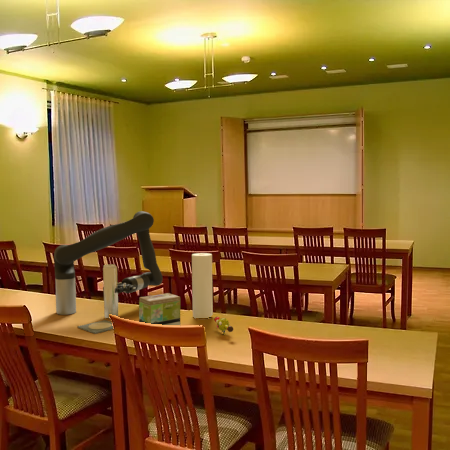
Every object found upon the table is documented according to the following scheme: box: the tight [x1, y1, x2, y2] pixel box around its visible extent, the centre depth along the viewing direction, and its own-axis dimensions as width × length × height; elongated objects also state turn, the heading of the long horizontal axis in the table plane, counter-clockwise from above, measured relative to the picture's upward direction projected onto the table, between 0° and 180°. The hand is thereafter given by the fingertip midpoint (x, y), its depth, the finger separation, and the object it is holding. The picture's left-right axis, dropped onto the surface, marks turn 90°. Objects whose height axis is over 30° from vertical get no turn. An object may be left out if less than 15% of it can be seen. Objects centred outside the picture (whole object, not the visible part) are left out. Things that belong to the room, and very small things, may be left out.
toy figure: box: [213, 316, 234, 335], centre depth 211 cm, size 18×6×7 cm, turn 21°
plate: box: [77, 319, 114, 335], centre depth 223 cm, size 14×14×1 cm
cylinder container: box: [191, 252, 214, 319], centre depth 239 cm, size 9×9×30 cm
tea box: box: [138, 292, 181, 326], centre depth 217 cm, size 15×10×15 cm, turn 129°
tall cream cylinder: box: [102, 263, 119, 320], centre depth 239 cm, size 6×6×25 cm
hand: (110, 290), depth 239 cm, fingers open, 8 cm apart
